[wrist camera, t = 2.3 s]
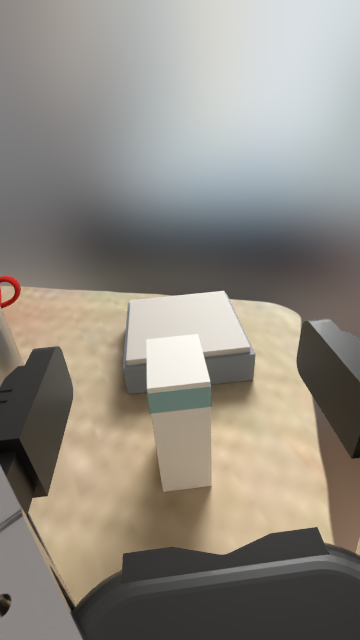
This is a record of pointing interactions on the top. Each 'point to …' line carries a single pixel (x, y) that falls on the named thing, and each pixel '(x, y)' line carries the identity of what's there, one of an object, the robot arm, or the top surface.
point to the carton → (180, 410)
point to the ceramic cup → (16, 287)
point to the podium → (186, 319)
